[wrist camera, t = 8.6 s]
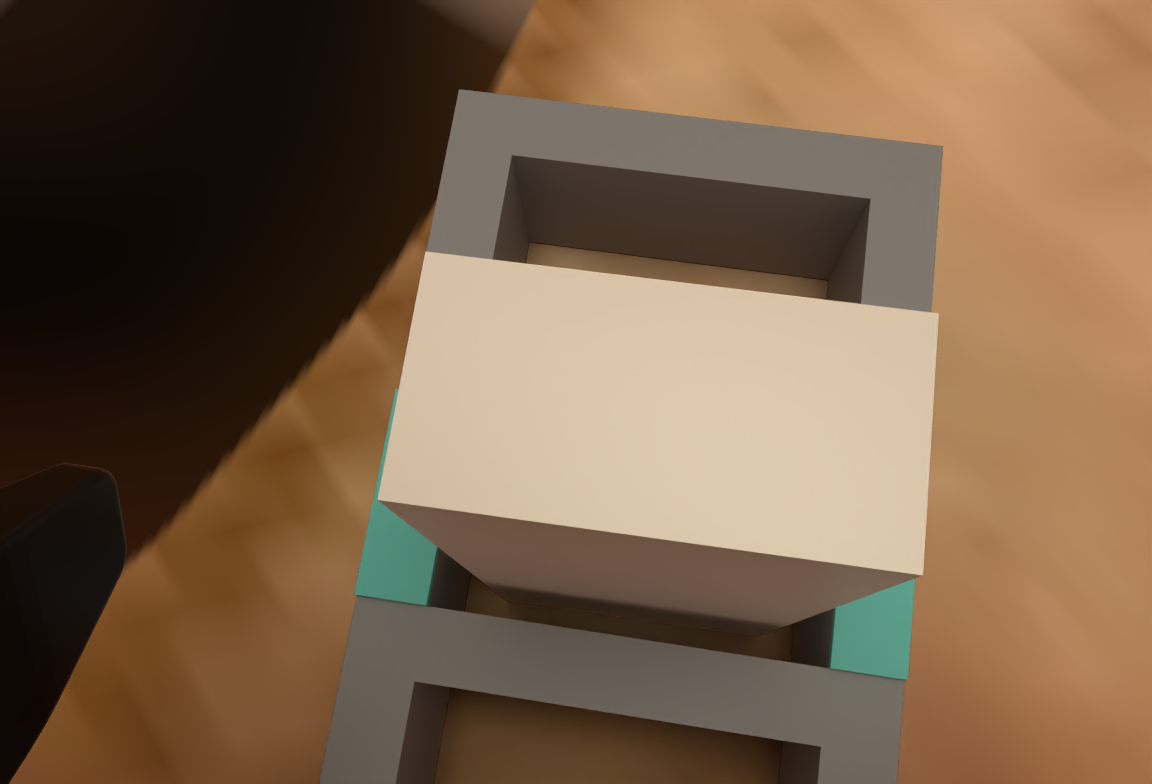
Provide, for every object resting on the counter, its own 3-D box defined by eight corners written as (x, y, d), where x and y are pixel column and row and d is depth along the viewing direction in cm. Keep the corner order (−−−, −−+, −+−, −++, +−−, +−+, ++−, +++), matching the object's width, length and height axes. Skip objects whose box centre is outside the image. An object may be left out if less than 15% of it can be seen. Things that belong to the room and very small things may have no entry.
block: (756, 637, 21) (922, 575, 10) (506, 601, 22) (377, 499, 10) (769, 511, 22) (938, 313, 10) (525, 478, 22) (426, 251, 11)
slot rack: (823, 1016, 19) (877, 1103, 15) (342, 930, 20) (273, 992, 16) (889, 235, 23) (946, 140, 19) (485, 185, 24) (457, 83, 20)
